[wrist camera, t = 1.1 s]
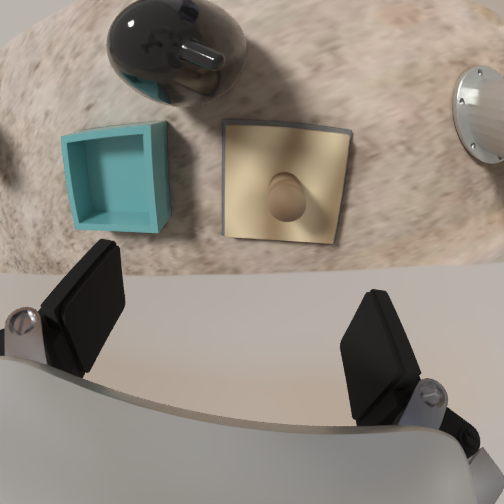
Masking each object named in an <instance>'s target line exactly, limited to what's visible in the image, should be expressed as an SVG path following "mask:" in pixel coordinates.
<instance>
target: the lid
mask: <svg viewBox="0 0 504 504" xmlns="http://www.w3.org/2000/svg"><path fill="white" fill-rule="evenodd" d="M349 139H350V136H349V135H347V134H341V133H334V132H326V131H318V130H309V129H299V128H288V127H275V126H258V125H229V124H228V125H226V143H225V237H237V238H253V239H269V240H284V241H299V242H314V243H328V244H333V242H334V237H335V232H336V226H337V221H338V215H339V209H340V203H341V197H342V191H343V184H344V178H345V171H346V163H347V156H348V148H349Z"/></svg>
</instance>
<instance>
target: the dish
mask: <svg viewBox="0 0 504 504" xmlns="http://www.w3.org/2000/svg"><path fill="white" fill-rule="evenodd" d="M61 144H62V154H63V163H64V170H65V177H66V184H67V190H68V196H69V201H70V206H71V211H72V216H73V221H74V226H75V230H100V231H123V232H144V233H159V232H160V230H161V229H162V228H163V226H164V225H165V224H166V222H167V221H168V220H169V218H170V217H171V204H170V189H169V172H168V147H167V121H154V122H142V123H131V124H122V125H113V126H106V127H98V128H92V129H85V130H81V131H78V132H74V133H71V134H68V135H64V136H61Z"/></svg>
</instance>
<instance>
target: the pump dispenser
mask: <svg viewBox="0 0 504 504" xmlns="http://www.w3.org/2000/svg"><path fill="white" fill-rule="evenodd" d="M106 46H107V55H108V58H109V61H110V64H111V66H112V68H113V69H114V71H115V72H116V74H117V75H118V76H119V77H120V79H121V80H122V81H123V82H125V83H126V84H127V85H128V86H129V87H131V88H132V89H133V90H135V91H136V92H137V93H139V94H141V95H142V96H144V97H146V98H148V99H150V100H152V101H155V102H158V103H161V104H164V105H168V106H173V107H193V106H198V105H202V104H206V103H208V102H211V101H213V100H215V99H217V98H218V97H220V96H221V95H223V94H224V93H225V92H227V91H228V90H229V89H230V88H231V87H232V86H233V85H234V84H235V82H236V81H237V80H238V78H239V77H240V75H241V73H242V71H243V69H244V66H245V63H246V58H247V43H246V39H245V35H244V33H243V31H242V29H241V27H240V25H239V24H238V22H237V21H236V20H235V19H234V18H233V17H232V16H231V15H230V14H229V13H228V12H226V11H225V10H224V9H222V8H221V7H219V6H218V5H216V4H214V3H212V2H210V1H207V0H137V1H135V2H133V3H132V4H130V5H129V6H127V7H126V8H125V9H123V10H122V11H121V12H120V13H119V14H118V16H117V17H116V18H115V20H114V21H113V23H112V24H111V27H110V29H109V32H108V35H107V44H106Z"/></svg>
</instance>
